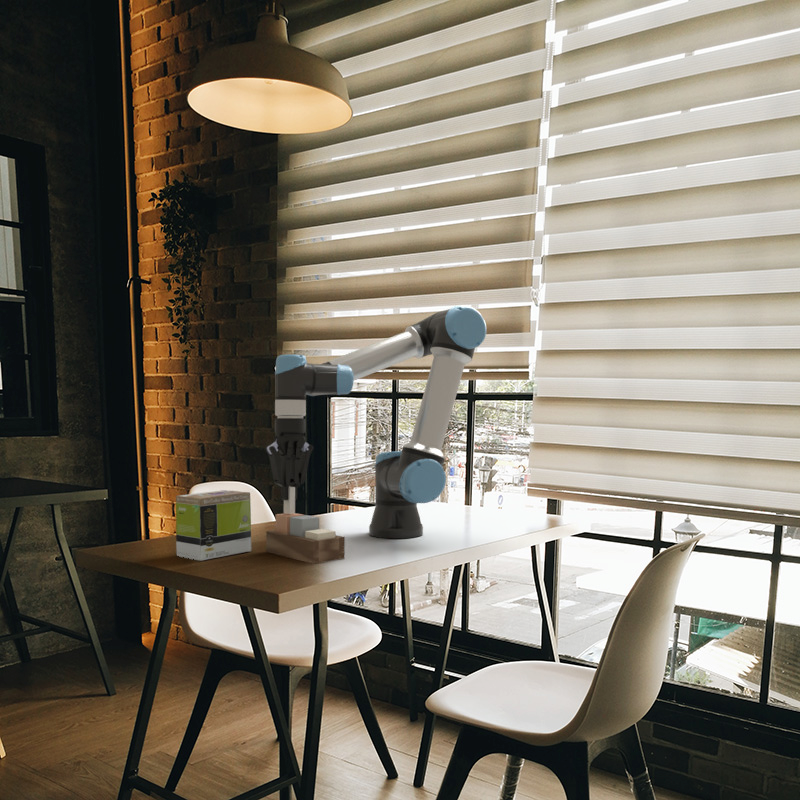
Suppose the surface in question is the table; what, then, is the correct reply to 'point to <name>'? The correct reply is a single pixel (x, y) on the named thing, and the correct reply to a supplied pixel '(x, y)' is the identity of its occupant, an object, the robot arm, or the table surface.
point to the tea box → (213, 524)
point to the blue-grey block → (303, 524)
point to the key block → (305, 547)
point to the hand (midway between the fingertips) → (289, 513)
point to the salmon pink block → (284, 522)
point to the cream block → (320, 534)
